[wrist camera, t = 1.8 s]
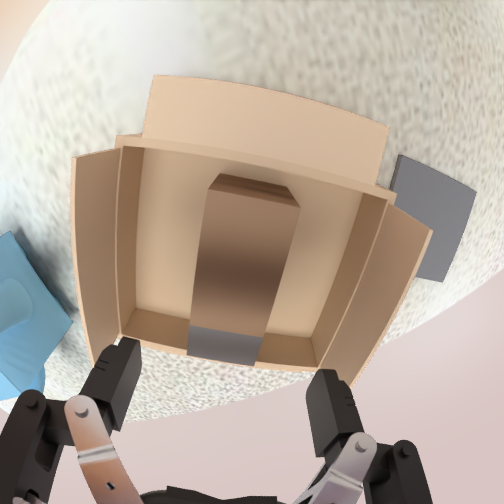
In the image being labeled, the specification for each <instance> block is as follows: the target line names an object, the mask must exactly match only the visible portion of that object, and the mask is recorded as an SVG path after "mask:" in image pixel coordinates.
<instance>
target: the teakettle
mask: <svg viewBox="0 0 504 504" xmlns="http://www.w3.org/2000/svg"><path fill="white" fill-rule="evenodd" d="M72 324H73V321H72V320H71V319H70V318H69V316H68V315H67V314H66V313H65V311H64V310H63V306H62V304H61V303H60V301H59V300H58V299H57V298H55V297H54V296H52V295H51V293H50V292H49V290H48V289H47V288H46V286H45V285H44V283H43V282H42V281H41V279H40V278H39V276H38V275H37V273H36V272H35V270H34V269H33V267H32V266H31V264H30V263H29V261H28V259H27V255H26V252H25V250H24V249H23V248H22V247H21V246H20V245H19V244H18V243H17V241H16V240H15V238H14V236H13V234H12V233H11V231H9V232H7V233H5V234H4V235H2V236H1V237H0V401H1V400H6V399H10V398H14V397H18V396H20V394H21V393H22V392H24V391H25V390H28V389H35V390H38V391H40V392H41V393H42V394H43V390H44V386H45V368H44V363H45V362H46V360H47V359H48V357H49V356H50V354H51V353H52V352H53V350H54V349H55V347H56V346H57V344H58V343H59V341H60V340H61V339H62V337H63V336H64V334H65V333H66V332H67V330H68V329H69V328H70V326H71V325H72Z"/></svg>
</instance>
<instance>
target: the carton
mask: <svg viewBox="0 0 504 504" xmlns="http://www.w3.org/2000/svg"><path fill="white" fill-rule="evenodd" d="M389 129H390V127H388V126H386V125H383V124H381V123H378V122H376V121H373V120H371V119H368V118H365V117H363V116H360V115H357V114H355V113H352V112H349V111H346V110H343V109H340V108H337V107H334V106H331V105H327V104H324V103H321V102H317V101H314V100H310V99H307V98H303V97H299V96H296V95H292V94H288V93H283V92H279V91H275V90H270V89H266V88H261V87H256V86H250V85H245V84H239V83H233V82H226V81H219V80H212V79H203V78H194V77H183V76H169V75H154V76H153V80H152V85H151V89H150V94H149V99H148V104H147V109H146V115H145V120H144V126H143V132H142V134H130V135H117V136H116V141H115V149H109V150H104V151H99V152H94V153H89V154H85V155H80V156H76V157H72V162H71V183H70V222H71V243H72V256H73V267H74V276H75V284H76V291H77V298H78V304H79V310H80V316H81V321H82V326H83V331H84V336H85V340H86V344H87V349H88V353H89V357H90V361H91V364H92V368H94V365H95V363H96V361H97V360H98V358H99V356H100V354H101V352H102V350H104V349H105V348H106V347H108V346H109V345H110V344H114V342H115V340H116V338H119V339H121V338H122V337H123V336H126V337H130V338H134V339H138V340H140V345H141V346H143V347H147V348H151V349H155V350H159V351H163V352H168V353H172V354H177V355H182V356H187V357H192V358H197V359H202V360H208V361H213V362H219V363H225V364H232V365H238V366H246V367H253V368H261V369H270V370H279V371H290V372H302V371H308V372H317V370H318V369H335V370H336V372H337V375H338V378H339V380H344V381H345V383H346V384H347V385H348V386H349V387H350V389H352V387H353V386H354V384H355V383H356V381H357V380H358V378H359V377H360V375H361V374H362V372H363V371H364V369H365V368H366V366H367V365H368V363H369V361H370V360H371V358H372V356H373V355H374V353H375V352H376V350H377V348H378V347H379V345H380V343H381V341H382V340H383V338H384V336H385V334H386V333H387V331H388V329H389V327H390V325H391V324H392V322H393V320H394V318H395V316H396V314H397V312H398V310H399V308H400V307H401V305H402V303H403V301H404V299H405V296H406V294H407V292H408V290H409V288H410V286H411V284H412V282H413V280H414V277H415V275H416V273H417V271H418V268H419V266H420V264H421V261H422V259H423V256H424V254H425V252H426V249H427V247H428V244H429V241H430V239H431V236H432V233H433V230H432V229H430V228H429V227H427V226H426V225H424V224H423V223H421V222H419V221H418V220H416V219H415V218H413V217H412V216H410V215H408V214H407V213H405V212H404V211H402V210H400V209H399V208H397V207H395V206H394V202H395V199H396V196H397V193H395V192H393V191H391V190H389V189H387V188H385V187H383V186H380V185H378V184H376V180H377V177H378V173H379V169H380V166H381V162H382V158H383V154H384V150H385V146H386V142H387V138H388V134H389ZM219 173H221V174H227V175H232V176H238V177H243V178H248V179H253V180H258V181H263V182H267V183H272V184H277V185H281V186H286V187H287V188H288V189H289V191H290V192H291V194H292V195H293V197H294V198H295V200H296V201H297V203H298V204H299V206H300V207H301V210H300V214H299V218H298V221H297V225H296V229H295V232H294V236H293V239H292V243H291V247H290V250H289V254H288V257H287V261H286V264H285V268H284V271H283V274H282V278H281V281H280V285H279V288H278V291H277V295H276V298H275V301H274V305H273V308H272V311H271V314H270V318H269V321H268V324H267V327H266V331H265V334H264V337H263V340H262V343H261V346H260V349H259V353H258V356H257V359H256V362H255V365H254V366H247V365H240V364H233V363H227V362H221V361H215V360H209V359H203V358H198V357H193V356H188V355H187V344H188V333H189V322H190V313H191V303H192V294H193V286H194V278H195V270H196V262H197V255H198V247H199V240H200V233H201V227H202V220H203V214H204V207H205V201H206V195H207V189H208V188H209V187H210V185H211V184H212V183H213V181H214V180H215V179H216V177H217V176H218V175H219Z"/></svg>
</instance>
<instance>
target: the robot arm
mask: <svg viewBox="0 0 504 504" xmlns="http://www.w3.org/2000/svg"><path fill="white" fill-rule="evenodd" d="M141 367H142V360H141V345H140V340H138V339H134V338H130V337H126V336H123V337H122V338H121V340H120V342H119V344H118V346H116V345H113V344H110V345H109V346H108V347H106V348H105V349H104V350H102V352H101V354H100V356H99V358H98V360H97V361H96V363H95V365H94V368H93V369H92V370H91V372H90V374H89V376H88V378H87V380H86V382H85V384H84V386H83V388H82V390H81V392H80V393H79V394H78V395H76V396H73V397H71V398H70V399H69V400H67V401H59V400H51V399H46V398H45V396H44V395H43V394H42V393H41V392H40V391H38V390H35V389H28V390H25V391H24V392H22V393H21V394H20V396H19V397H18V399H17V401H16V403H15V405H14V407H13V409H12V411H11V413H10V415H9V417H8V419H7V422H6V424H5V426H4V428H3V430H2V433H1V435H0V504H48V500H49V496H50V492H51V488H52V484H53V481H54V477H55V473H56V470H57V466H58V463H59V460H60V457H61V453H62V450H63V447H64V445H68V446H75V447H76V450H77V452H78V461H79V464H80V467H81V469H82V472H83V474H84V477H85V479H86V481H87V484H88V486H89V488H90V490H91V492H92V495H93V497H94V499H95V501H96V503H97V504H285V503H282V502H278V501H277V496H247V497H241V498H235V499H227V500H221V499H217V498H214V497H211V496H208V495H205V494H202V493H199V492H197V491H193V490H187V489H182V488H177V487H171V486H167V490H158V491H151V492H148V493H145V494H142V495H139V494H138V492H137V490H136V489H135V487H134V485H133V483H132V482H131V480H130V478H129V476H128V474H127V473H126V470H125V469H124V467H123V465H122V463H121V461H120V459H119V457H118V454H117V452H116V450H115V448H114V446H113V444H112V441H111V439H110V436H111V433H112V430H116V431H119V432H120V430H121V427H122V424H123V421H124V418H125V415H126V412H127V409H128V406H129V403H130V401H131V398H132V395H133V392H134V389H135V387H136V384H137V381H138V379H139V376H140V373H141ZM306 403H307V409H308V414H309V420H310V425H311V431H312V436H313V443H314V448H315V454H316V457H325V463H324V464H323V465H322V467H321V468H320V470H319V471H318V473H317V474H316V476H315V477H314V478H313V480H312V481H311V483H310V484H309V485H308V487H307V488H306V490H305V491H304V492H303V493H302V494H301V495H300V496H299V498H297V499H296V500H295V502H294V503H293V504H356V502H357V500H358V499H359V497H360V495H361V493H362V490H363V487H364V493H365V499H366V504H433V502H432V498H431V494H430V491H429V487H428V484H427V480H426V477H425V473H424V470H423V467H422V463H421V460H420V457H419V454H418V451H417V448H416V446H415V445H414V444H413V443H412V442H410V441H408V440H400V441H398V442H396V443H395V444H394V445H387V444H380V443H376V441H375V440H374V438H373V437H372V436H370V435H369V434H366V433H365V432H364V430H363V426H362V423H361V420H360V416H359V414H358V410H357V408H356V406H355V401H354V399H353V395H352V392H351V389H350V387H349V386H348V385H347V384H346V383H345V381H344V380H339V378H338V375H337V372H336V370H335V369H318V370H317V372H316V374H315V376H314V377H313V379H312V381H311V383H310V385H309V387H308V389H307V392H306ZM362 482H363V487H361V483H362Z"/></svg>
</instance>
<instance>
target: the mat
mask: <svg viewBox="0 0 504 504" xmlns="http://www.w3.org/2000/svg"><path fill="white" fill-rule="evenodd" d="M389 190H391V191H393V192H395V193H397V196H396V199H395V202H394V206H395V207H397V208H399V209H400V210H402V211H404V212H405V213H407V214H408V215H410V216H412V217H413V218H415V219H416V220H418V221H419V222H421V223H423V224H424V225H426V226H427V227H429V228H430V229H432V230H433V233H432V236H431V239H430V241H429V244H428V247H427V249H426V252H425V254H424V256H423V259H422V261H421V264H420V266H419V268H418V271H417V273H416V275H415V277H418V278H423V279H428V280H433V281H438V282H443V280H444V278H445V276H446V274H447V272H448V270H449V267H450V265H451V263H452V260H453V258H454V256H455V253H456V251H457V248H458V246H459V243H460V241H461V238H462V235H463V233H464V230H465V227H466V224H467V221H468V218H469V215H470V212H471V209H472V206H473V203H474V199H475V196H476V193H477V192H476V191H474V190H472V189H471V188H469V187H467V186H465V185H463V184H461V183H460V182H458V181H456V180H454V179H452V178H450V177H448V176H446V175H444V174H442V173H440V172H438V171H436V170H434V169H432V168H430V167H427V166H425V165H423V164H421V163H419V162H416V161H414V160H412V159H410V158H407V157H405V156H403V155H399V156H398V160H397V164H396V168H395V171H394V175H393V179H392V182H391V186H390V189H389Z"/></svg>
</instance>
